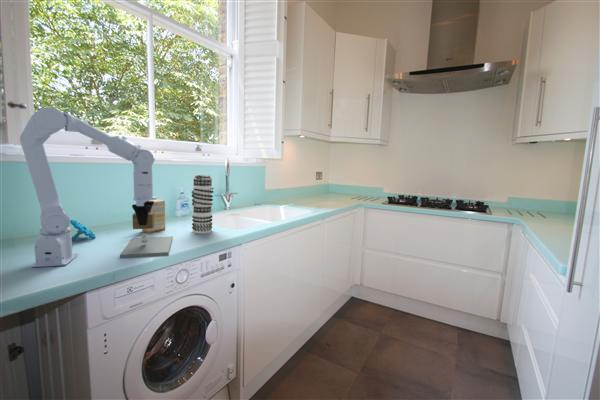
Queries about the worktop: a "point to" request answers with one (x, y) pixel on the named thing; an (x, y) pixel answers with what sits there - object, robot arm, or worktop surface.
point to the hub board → (147, 246)
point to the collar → (148, 226)
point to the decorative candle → (202, 204)
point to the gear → (81, 230)
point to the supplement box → (157, 216)
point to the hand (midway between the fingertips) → (144, 223)
